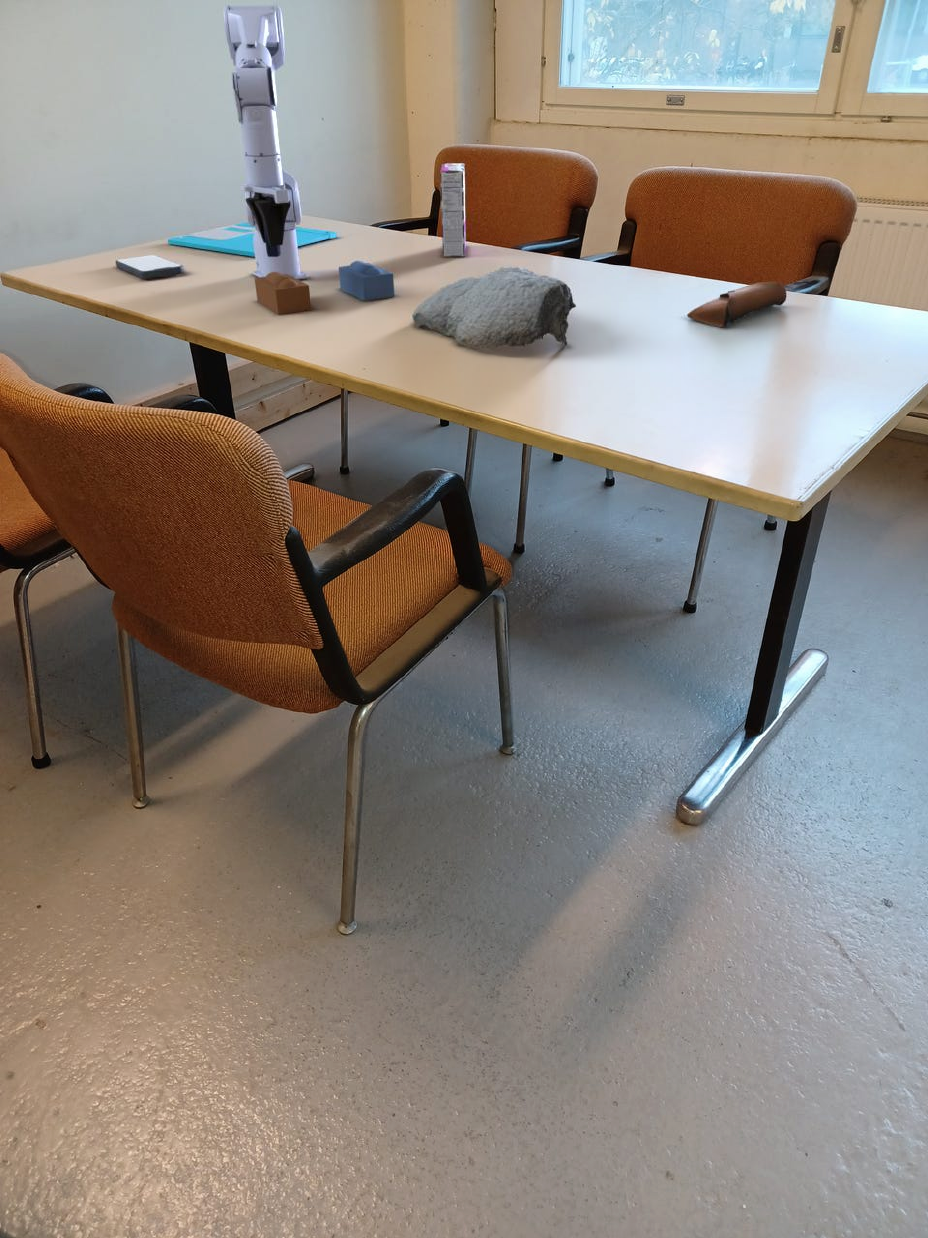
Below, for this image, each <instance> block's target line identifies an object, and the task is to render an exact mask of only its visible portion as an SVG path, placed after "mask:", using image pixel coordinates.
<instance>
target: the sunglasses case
mask: <svg viewBox="0 0 928 1238" xmlns="http://www.w3.org/2000/svg"><path fill="white" fill-rule="evenodd" d="M787 297H788V296H787V291H786V287H785V286H784V285H783V284H782V283H781V282H778V281H777V282H776V281H763V282H756V283H753V284H752V283H751V284H748V285H746V286H743V287H740V288H737V289H734V290H732V289H731V290H728V291H727V292H724V293H721V294H719V297H718V298H715V299H712V300H710V301H707V302H705V303H703V304H701V305H699V306H697V307H696V308H694V309H693V310H691V311H690V312H688V313H687V314H686V316H687V317H688V318H689V319H691V320H694V321H696V322H697V323H701V324H705V325H707V326H712V327H716V328H721V329H722V328H724V327H726V326H727V325H728V324H733V323H734V322H736V321H738V320H740V319H743V318H744V317H745V316H748V315H750V314H752V313H756V312H758V311H762V310H763V309H766V308H770V307H773V306H779V307H780V306H782V305H783V304H784V303H786V300H787Z"/></svg>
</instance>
